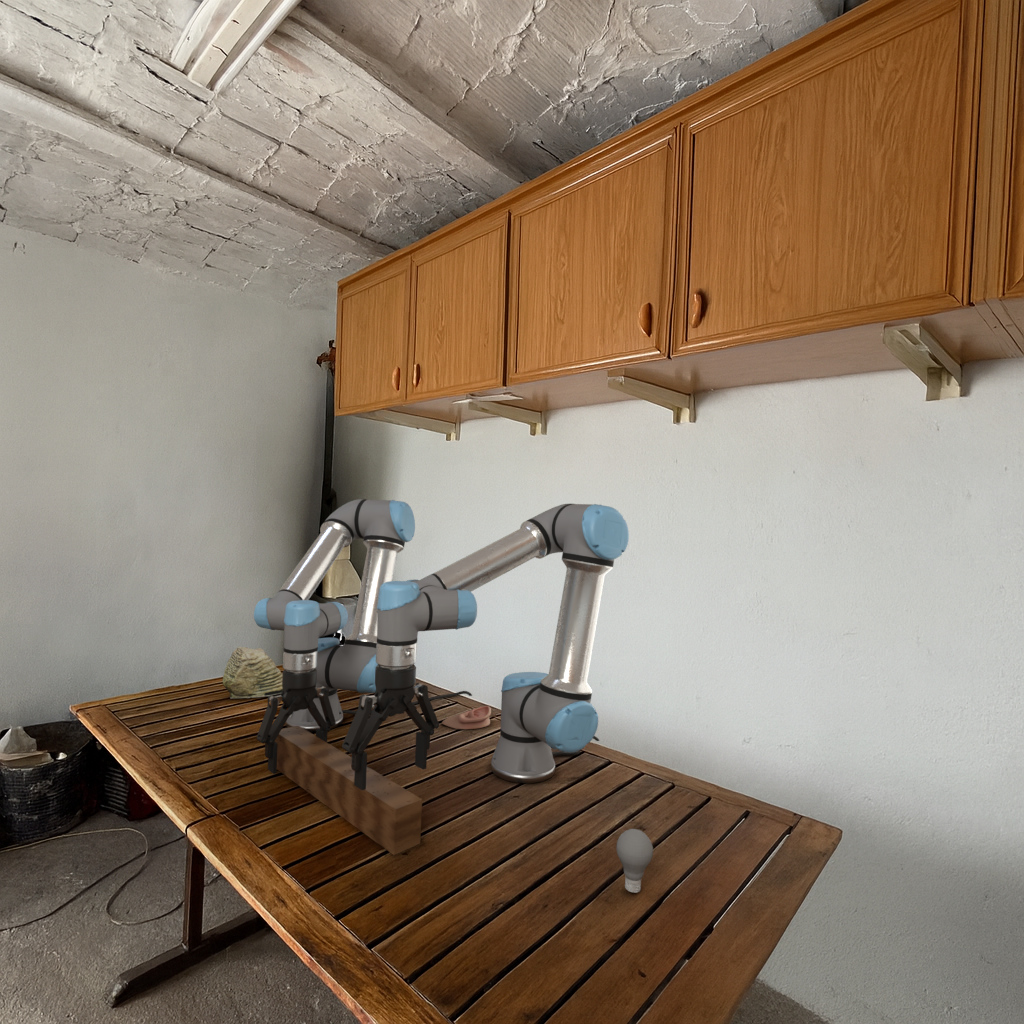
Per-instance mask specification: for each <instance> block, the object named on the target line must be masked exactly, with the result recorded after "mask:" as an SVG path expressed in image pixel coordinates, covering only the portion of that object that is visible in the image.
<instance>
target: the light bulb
mask: <svg viewBox="0 0 1024 1024" xmlns="http://www.w3.org/2000/svg"><path fill="white" fill-rule="evenodd" d="M615 849H616V854H617V857H618V859H619V861H620V863H621V865H622V867H623V873H624V874H623V875H624V876H625V878H624V888H625V890H627V891H628V892H630V893H634V894H635V893H639V892H640V891H641V889H642V887H641V886H642V879H643V877H644V875H645V871H646V868H647V867H648V866H649V864H650V863H651V861H652V859H653V855H654V847H653V843H652V841H651V838H649V836H648V835H647V834H646V833H645V832H643V831H642V830H641V829H636V828H629V829H627V830H625V831H623V832H622V833H621V834H620V835H619V837H618V839H617V841H616V847H615Z"/></svg>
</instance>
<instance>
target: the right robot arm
mask: <svg viewBox="0 0 1024 1024" xmlns="http://www.w3.org/2000/svg"><path fill="white" fill-rule="evenodd" d="M629 540H630V530H629V527H628V522H627V520H626V519H625V518H624V515H623V514H622V513H621V512H620V511H619V510H617V509H616V508H614V507H613V506H609V505H602V504H596V503H594V504H593V503H591V504H589V503H563V504H559V505H556V506H553V507H551V508H549V509H547V510H544V511H543V512H540V513H538V514H537V515H535V516H533V517H531V518H529V519H527V520H525V521H523V522H522V523H521V524H520V527H519V529H517V530H514V531H513V532H511V533H509V534H507V535H505V536H503V537H502V538H499V539H498V540H496V541H493V542H492V543H489V544H487V545H486V546H484V547H482V548H480V549H478V550H476V551H474V552H472V553H470V554H468V555H466V556H464V557H463V558H461V559H458V560H456V561H454V562H452V563H451V564H448V565H447V566H445V567H443V568H440V569H439V570H437V571H435V572H433V573H431V574H429V575H427V576H424V577H423V578H421V579H408V580H393V581H389V582H385V583H383V584H382V585H381V586H380V590H379V596H378V605H377V609H378V618H377V644H376V663H377V664H378V665H377V666H376V668H375V686H376V692H375V693H374V695H366V694H361V695H360V696H359V701H358V707H357V710H356V711H357V712H356V714H354V716H353V719H352V721H351V723H350V726H349V728H348V730H347V733H346V734H345V738H344V740H343V742H342V745H341V749H342V750H344V751H346V752H347V753H349V754H351V757H352V762H351V768H352V770H354V771H355V774H354V785H355V786H356V787H358V788H359V789H361V790H365V789H366V772H367V767H368V753H367V752H366V751H365V750H366V748H367V747H368V745H370V742H371V740H372V739H373V737H374V736H375V734H376V733H377V731H378V730H379V728H380V727H381V725H382V724H383V723H384V722H385V721H386V720H387V719H388V718H391V717H395V716H397V715H402V714H405V713H406V714H407V716H408V717H409V718H410V720H411V721H412V723H414V725H415V726H416V727H417V728H418V730H419V731H416V733H415V753H414V754H415V755H414V766H415V767H417V768H419V769H421V770H426V769H427V766H428V765H427V760H428V751H429V750H430V747H431V736H434V734H435V729H436V730H437V729H439V728H440V723H439V719H438V718H437V715H436V713H435V709H434V707H433V705H432V702H431V700H429V698H430V697H429V688H428V686H427V685H426V684H423V683H421V682H416V681H417V680H416V678H417V666H416V665H415V664H416V662H417V653H418V652H417V651H418V636H419V635H418V634H419V633H420V632H429V631H432V632H433V631H444V630H445V631H446V630H460V629H464V628H469V627H472V626H473V625H474V623H475V622H476V619H477V617H478V602H477V599H476V597H475V595H474V593H472V592H473V591H475V590H477V589H479V588H480V587H483V586H484V585H487V584H488V583H490V582H491V581H494V580H495V579H497V578H499V577H501V576H503V575H505V574H507V573H508V572H511V571H513V570H514V569H515V568H519V566H521V565H523V564H525V563H527V562H529V561H531V560H533V559H534V558H536V559H543V558H545V557H547V556H549V555H552V554H558V553H562V555H561V561H562V562H563V564H564V566H565V568H566V572H565V578H564V582H563V588H562V594H561V600H560V608H559V611H558V617H557V624H556V630H555V635H554V641H553V647H552V653H551V660H550V665H549V670H548V673H546V672H541V671H521V672H513V673H509V674H507V675H506V676H504V678H503V680H502V686H501V691H500V692H501V705H500V732H499V733H500V734H499V739H498V741H497V744H496V746H495V749H494V751H493V754H492V757H491V761H490V769H491V772H492V774H494V775H495V776H496V777H498V778H499V779H502V780H505V781H507V782H511V783H517V784H536V783H541V782H545V781H547V780H550V779H551V778H552V777H554V775H555V771H556V762H555V759H554V756H570V757H574V756H578V755H579V754H580V753H581V750H583V749H584V748H585V747H586V746H587V745H588V744H590V743H591V741H592V740H595V741H596V742H600V738H598V737H597V736H595V735H596V733H597V730H598V726H599V713H598V712H597V710H596V708H595V707H594V705H593V704H592V703H591V701H592V694H593V689H592V688H591V686H590V684H589V683H588V677H589V673H590V672H589V671H590V666H591V661H592V660H591V659H592V654H593V647H594V642H595V635H596V631H597V623H598V618H599V613H600V612H599V611H600V607H601V606H600V605H601V599H602V593H603V587H604V582H605V576H606V575H607V573H609V572H611V571H612V570H613V569H614V565H615V564H614V563H615V560H617V559H618V558H619V557H621V556H622V555H623V554H622V553H625V552H626V550H627V547H628V545H629ZM414 697H416V701H418V705H419V708H420V710H421V713H422V714H421V713H420V711H419V710H418V709H417V707H416V705H414V704H413V703H412V702H413V701H412V700H413V699H414ZM371 710H372V712H371ZM380 711H381V712H380ZM370 713H371V714H370ZM422 715H423V716H422ZM552 749H553V750H557V751H552Z"/></svg>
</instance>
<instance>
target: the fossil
mask: <svg viewBox="0 0 1024 1024" xmlns="http://www.w3.org/2000/svg"><path fill="white" fill-rule="evenodd" d="M222 676H223V677H222V685H223V687H224V688H225V690H226V691H228V693H229V698H230V699H250V698H264V697H269V696H270V695H272V696H277V695H281V693H282V690H283V688H282V676H283V672H281V669H279V668H278V667H277V665H276V663H275V662H274V660H273V659H272V658H271V657H270V656H269V655H268V654H267V653H266V652H265V650H264V649H263V648H260V647H258V648H251V647H247V646H246V647H245V646H238V647H237V648H236V649H235V650H233V651H232V653H231V656H230V657H229V659H228V660H227V663H226V666H225V668H224V671H223V675H222Z"/></svg>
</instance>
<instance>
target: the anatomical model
mask: <svg viewBox="0 0 1024 1024" xmlns="http://www.w3.org/2000/svg"><path fill="white" fill-rule="evenodd" d="M491 714H492V708H491V707H490V706H489V705H482V706H479V707H475V708H471V709H469V710H467V711H464V712H461V713H458V714H454V715H451V716H449V717H447V718H444V720H442V722H441V724H442V725H444V726H446V727H448V728H452V729H455V730H456V729H457V730H473V729H481V728H484V727H488V726H490V724H491V720H490V716H491Z"/></svg>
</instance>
